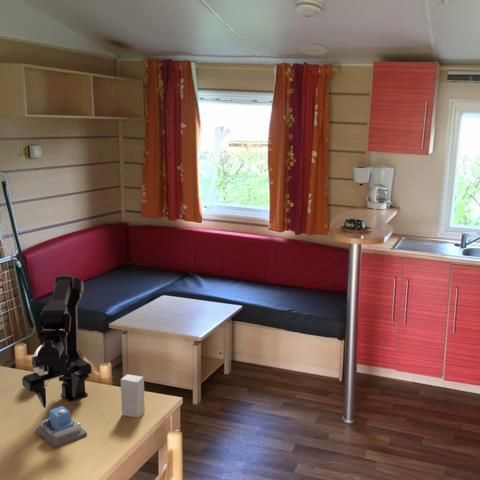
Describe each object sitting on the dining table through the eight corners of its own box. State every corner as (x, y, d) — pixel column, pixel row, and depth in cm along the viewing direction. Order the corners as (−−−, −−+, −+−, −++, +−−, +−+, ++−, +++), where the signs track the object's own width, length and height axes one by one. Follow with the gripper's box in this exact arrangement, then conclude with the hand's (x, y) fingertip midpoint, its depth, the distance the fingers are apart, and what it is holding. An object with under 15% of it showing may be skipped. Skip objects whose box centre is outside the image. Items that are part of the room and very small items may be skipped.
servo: (61, 422, 177) (60, 402, 176) (74, 433, 172) (73, 412, 170) (48, 427, 175) (47, 406, 173) (61, 438, 169) (59, 416, 168)
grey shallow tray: (67, 419, 181) (67, 409, 180) (87, 435, 172) (86, 424, 172) (36, 431, 174) (35, 420, 174) (54, 448, 166) (53, 436, 165)
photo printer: (46, 387, 202) (44, 353, 199) (33, 387, 201) (30, 353, 199) (52, 374, 212) (50, 341, 209) (40, 374, 211) (38, 341, 209)
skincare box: (145, 412, 186) (144, 376, 184) (138, 418, 182) (137, 382, 180) (128, 408, 188) (127, 373, 185) (121, 415, 184) (120, 379, 182)
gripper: (73, 335, 180) (75, 383, 183) (12, 351, 167) (16, 402, 171) (91, 346, 172) (93, 395, 175) (29, 363, 159) (32, 416, 163)
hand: (59, 402), depth 171 cm, fingers open, 9 cm apart
